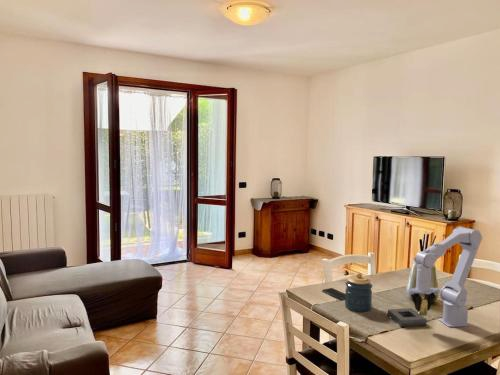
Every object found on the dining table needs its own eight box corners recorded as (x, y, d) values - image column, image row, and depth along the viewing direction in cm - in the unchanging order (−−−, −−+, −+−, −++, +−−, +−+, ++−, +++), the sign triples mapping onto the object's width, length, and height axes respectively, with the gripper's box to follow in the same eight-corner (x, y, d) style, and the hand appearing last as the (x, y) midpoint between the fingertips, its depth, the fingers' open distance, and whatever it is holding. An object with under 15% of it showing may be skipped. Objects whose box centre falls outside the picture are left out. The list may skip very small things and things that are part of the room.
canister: (373, 313, 181) (374, 278, 179) (345, 311, 183) (346, 276, 182) (370, 303, 194) (371, 269, 192) (344, 301, 196) (345, 268, 195)
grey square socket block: (411, 314, 180) (411, 308, 180) (426, 325, 169) (426, 319, 168) (387, 315, 179) (387, 309, 179) (400, 327, 167) (401, 320, 167)
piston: (423, 311, 167) (424, 296, 167) (429, 315, 163) (430, 299, 163) (415, 311, 167) (416, 296, 166) (420, 315, 163) (421, 300, 162)
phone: (340, 299, 197) (321, 290, 210) (340, 301, 197) (321, 292, 210) (351, 296, 201) (332, 287, 214) (351, 298, 201) (331, 289, 214)
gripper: (413, 283, 159) (412, 314, 160) (444, 281, 161) (443, 312, 162) (404, 277, 166) (403, 307, 167) (434, 276, 168) (433, 306, 169)
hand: (422, 309), depth 165 cm, fingers closed on piston, 4 cm apart
